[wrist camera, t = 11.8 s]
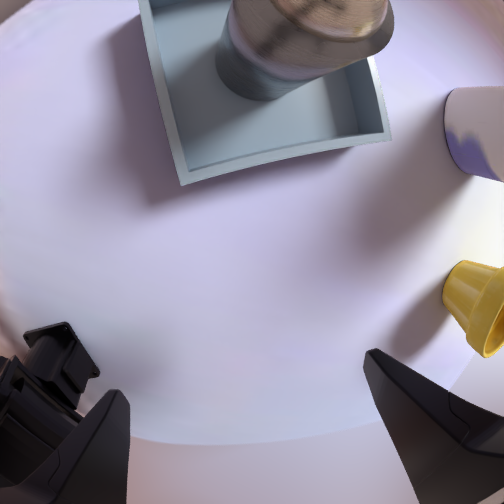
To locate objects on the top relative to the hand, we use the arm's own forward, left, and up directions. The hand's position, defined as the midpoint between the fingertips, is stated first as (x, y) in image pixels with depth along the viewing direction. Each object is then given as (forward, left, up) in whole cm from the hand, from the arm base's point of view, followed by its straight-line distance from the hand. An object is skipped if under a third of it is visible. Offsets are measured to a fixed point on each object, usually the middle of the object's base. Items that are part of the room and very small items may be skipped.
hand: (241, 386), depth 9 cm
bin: (+7, +13, -13) cm, 19 cm away
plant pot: (+28, -13, -13) cm, 33 cm away
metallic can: (+6, +13, -12) cm, 19 cm away
